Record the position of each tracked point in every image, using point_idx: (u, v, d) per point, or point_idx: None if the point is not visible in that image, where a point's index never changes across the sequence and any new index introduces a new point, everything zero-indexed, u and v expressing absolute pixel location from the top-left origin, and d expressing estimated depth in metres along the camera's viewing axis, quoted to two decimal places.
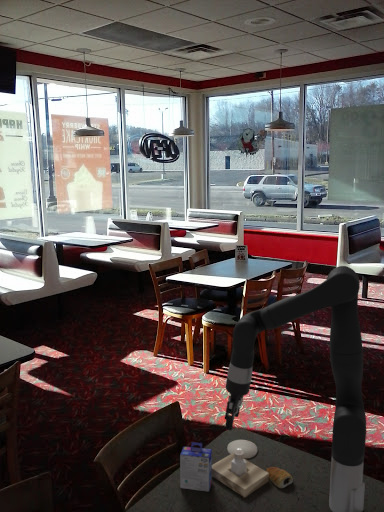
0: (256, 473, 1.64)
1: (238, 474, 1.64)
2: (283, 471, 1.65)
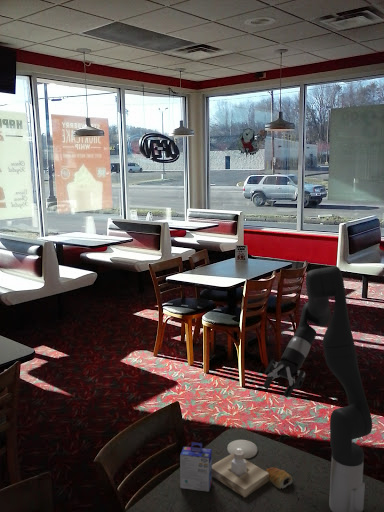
0: (256, 473, 1.64)
1: (238, 474, 1.64)
2: (283, 471, 1.65)
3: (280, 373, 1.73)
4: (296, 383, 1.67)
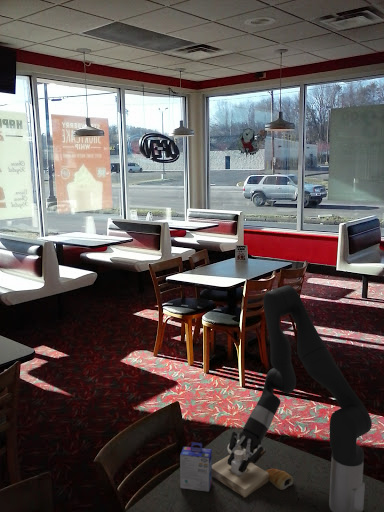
0: (256, 473, 1.64)
1: (238, 474, 1.64)
2: (283, 472, 1.64)
3: (244, 445, 1.67)
4: (251, 458, 1.62)
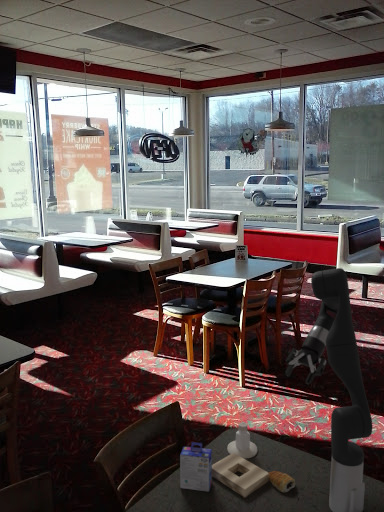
0: (256, 473, 1.64)
1: (242, 444, 1.80)
2: (285, 475, 1.63)
3: (301, 361, 1.78)
4: (317, 370, 1.72)
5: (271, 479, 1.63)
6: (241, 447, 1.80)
